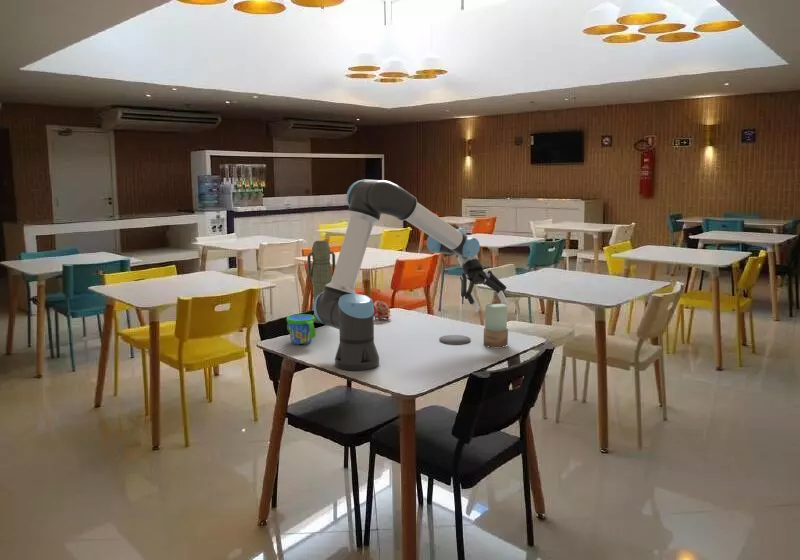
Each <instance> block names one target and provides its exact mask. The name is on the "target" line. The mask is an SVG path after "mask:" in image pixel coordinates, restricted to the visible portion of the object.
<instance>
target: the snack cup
mask: <svg viewBox="0 0 800 560" xmlns="http://www.w3.org/2000/svg"><path fill="white" fill-rule="evenodd" d="M285 320H286V323H287V324H286V329H287V331H288V332H289V336H290V342H291V344H293V345H296V346H300V345H299V344H305V345H308V344H310V343H311V342H312V340H313V339H314V338H315V337H316V329H315V325H314V323H315V322H314V321H315V317H314V316H313V315H312V314H309V313H307V314H306V313H299V314H290V315H288V316H287V317H286V319H285Z"/></svg>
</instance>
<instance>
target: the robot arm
mask: <svg viewBox="0 0 800 560" xmlns="http://www.w3.org/2000/svg"><path fill="white" fill-rule="evenodd" d="M346 202H347V205H348V209H347V213H348V216H349V221H348V224H347V228H346V231H345V234H344V237H343V241H342V245H341V247H340V250H339V254H338V257H337V260H336V262H335V270H334V273H333V272H332V273H333V276H332V280H331V282H330V283H328V284H326V285H325V288H324V291H323V292H322V293H321V294H320V295H318V296H317V297H316V299H315V301H314V305H313V304H312V306H313V310H314V314H315V316H316V318H317V319H318V320H319V321H320V322H322V323H321V324H322V325H325V326H327V327H331V328H334V329H337V330H339V344H338V347H337V350H336V354H335V358H334V366H335V367H336V368H337V369H340V368H341V369H340V370H345V371H353V372H355V371H356V372H357V371H366V370H367V371H368V370H371V369H374V368H377V367H378V366H379V365H380V356H379V353H378V349H377V347H376V343H375V322H374V321H375V320H374V319H375V316H374V306H373V304H374V301H373V299H372V298H370V297H369V296H368V295H365V294H364V295H363V294H359V293H357V292H356V290H355V288H356V284H357V280H358V277H359V275H360V274H359V273H360V270H361V267H362V264H363V260H364V256H365V254H366V250H367V247H368V243H369V240H370V238H371V233H372V230H373V227H374V225H375V224H377V223H379V222H380V219H381V215H387V216H391V217H394V218H396V219H397V220H399V221H406V222H408V223H409V224H411V225H412V226H414V227H415V228H417V229H419V230H420V231H421V232H424V234H426V235H428V237H427V239H426V247H427V249H428V250H429V252H431V253H435V254H446V255H452V256H453V255H454V256H455V257H456V259H457V261H458V263H459V265H460V267H461V270H462V273H461V275H460V277H459V279H460V284H461V285H460V286H461V287H460V296H461V297H462V298H464V299H465V300H467V301H468V302H469V304H470V305H471V306H472V308H473V311H474V312H475V313H478V312H479V311H480V310H481V307H480V305H479V302H478V301H477V298H476V297H475V294H474V293H472V292H473V289H474V287H475V285H482V284H483V285H484V286H487V287H489V288H490V289H491V290H493V291H494V292H496V293H497V297H498V299H499V300H500V304H504V305H507V307H508V306H509V305H510V303H509V301H508V298H507V297H508V296H507V295H506V292H505V291H506V289H507V286H506V284H504V283H503V282H502V281H501V280H500V279H499V278H498V277H496V276H495V275H494V274H493V272H492V271H491V270H488V271H486V272H485V271H484V268H483V265H482V263H481V260H480V259H479V257H478V254H479V252H480V248H481V247H480V246H481V245H480V241H479V240H478V239H477V238H475V237H473V236H468V235H467V234H466V232H465V231H464V230H463V229H460V228H455V227H454V226H453V225H451V224H449V223H448V222H446V221H445V220H444V219H442V218H441V217H440V216H438V215H437V214H435V213H434V212H432V211H431V210H429V209H428V208H426V207H425V206H424V205H422V204H421V203H419V202H418V199H417V197H415V195H413V194H411V192H409V191H407V190H406V189H404V188H403V187H401V186H400V185H398V184H397V183H394V182H392V181H390V180H384V179H380V180H379V179H366V178H365V179H361V180H357V181H355V182H353V183H352V184H351V185H350V186H349V188H348V190H347V192H346ZM467 281H469V284H468V283H467ZM467 284H468V286H467Z"/></svg>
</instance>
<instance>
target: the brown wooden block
mask: <svg viewBox="0 0 800 560" xmlns="http://www.w3.org/2000/svg"><path fill="white" fill-rule="evenodd" d="M508 337H509V329H508V328H507V330H506V331H503V332H491V331H487V330H485V327H484V328H483V346H484V345H485V346H484V347H486V346H489V347H488V348H490V347H503V346H506V345H508V344H509V343H508V341H509V338H508ZM506 347H507V346H506ZM503 348H504V347H503Z"/></svg>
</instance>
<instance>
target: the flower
mask: <svg viewBox="0 0 800 560" xmlns="http://www.w3.org/2000/svg"><path fill="white" fill-rule="evenodd" d="M373 306H374V319H378V320H379V321H381V320H382V319H383V320H384V319H385V320H389V319H390V317H392V314H391V310H390V308H389V304H387V302H384V301H382V300H381V301H380V300H378V299H377V300H375V302H373Z"/></svg>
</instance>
